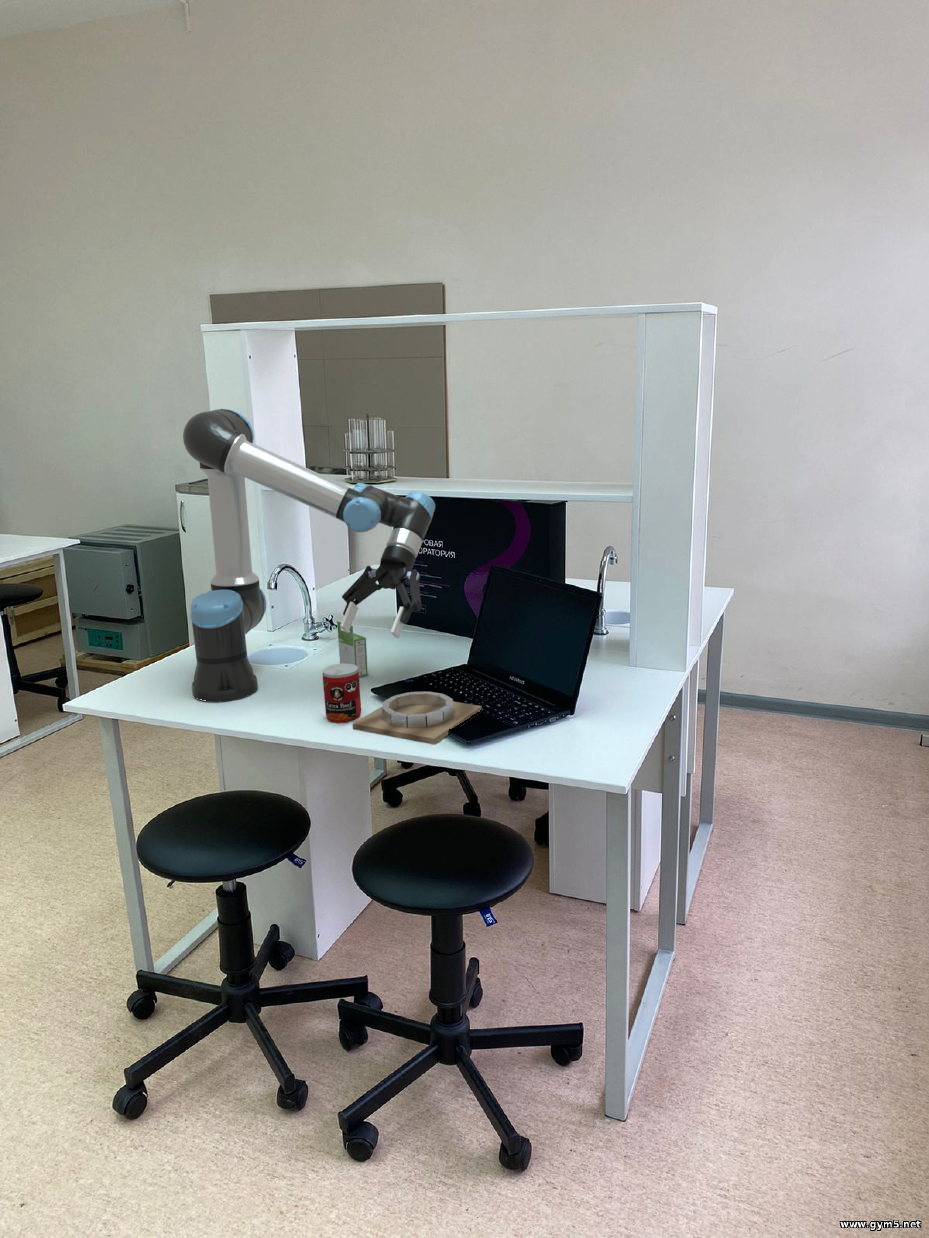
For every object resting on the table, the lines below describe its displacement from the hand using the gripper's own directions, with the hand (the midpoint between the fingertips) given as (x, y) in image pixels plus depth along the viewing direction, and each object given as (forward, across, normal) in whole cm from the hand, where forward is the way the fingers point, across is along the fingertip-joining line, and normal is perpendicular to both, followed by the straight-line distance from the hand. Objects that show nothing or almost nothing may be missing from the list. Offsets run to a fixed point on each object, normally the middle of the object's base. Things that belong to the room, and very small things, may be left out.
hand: (368, 632), depth 211 cm
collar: (+15, -15, -7) cm, 22 cm away
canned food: (+19, 0, -4) cm, 20 cm away
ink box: (+2, +16, -22) cm, 27 cm away
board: (+16, -15, -7) cm, 23 cm away
